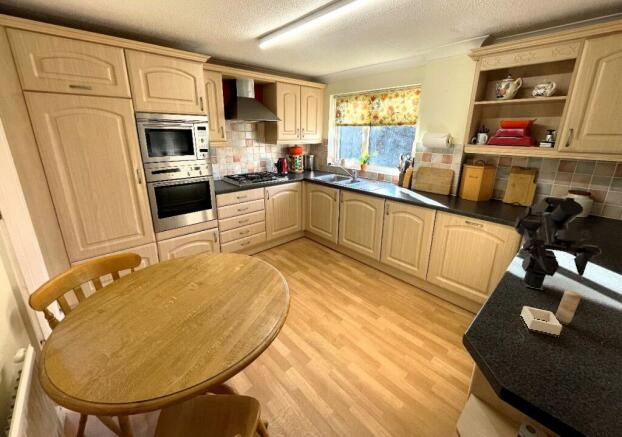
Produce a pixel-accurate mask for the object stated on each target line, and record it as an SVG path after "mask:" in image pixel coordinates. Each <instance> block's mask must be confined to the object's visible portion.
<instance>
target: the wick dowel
mask: <svg viewBox="0 0 622 437" xmlns="http://www.w3.org/2000/svg"><path fill="white" fill-rule="evenodd" d="M581 298H582V295H581V294H579V293H577V292H574V291H572V290H564V293H563V295H562V298H561V300H560V302H559V305H558V308H557V310H556V313H555V314H554V316H555V317H556V318H557V319H559V320H560V321H563V322H566V323H570V322H572V320H573V318H574V315H575V312H576V310H577V308H578V305H579V303H580V300H581ZM570 324H571V323H570Z"/></svg>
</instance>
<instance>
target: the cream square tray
mask: <svg viewBox="0 0 622 437" xmlns="http://www.w3.org/2000/svg"><path fill="white" fill-rule="evenodd" d="M520 316H522V317H523V319H524V321H525V323H526V324H527V326H528V328H529V329H533V330H538V331H543V332H547V333H551V334H556V335H559V336H560V333H561V331H562V328H563V325H562V324H560V323H559V321H558V320H557V319H556V317H555V314H554V313H553V312H552V311H549V310H545V309H539V308H535V307H531V306H526V305H523V307H522V310H521V314H520ZM534 318H535V319H534ZM537 319H540V320H537ZM542 320H545V321H542ZM546 321H547V322H546Z"/></svg>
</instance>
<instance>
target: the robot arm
mask: <svg viewBox="0 0 622 437" xmlns="http://www.w3.org/2000/svg"><path fill="white" fill-rule="evenodd" d="M583 211H584V207H583V206H582V205H581V204H580V202H578V201H576V200H575V198H574V197H568V196H567V197H565V198H562V197H551V196H544V198H542V199H541V200H540V203H538V204H535V205H534V204H533V205H532V206H531V205H530V206H527V208H526V209H525V211H524V212H522V213H520V214H518V216H517V218H516V219H515V222H514V229H515V231H516V233H517V234H518V235H520V236H521V237H522V236H523V239H524V240H523V241H524V242H523V244H522V250H523V251H524V252H527V253H528V256H526V258H525V259H524V258H523V260H522V262H521V267H522V269H523V270H524V272H525V274H524V276H523V279H524V280H523V282H525V283H526V284H528V285H530V286H531V287H535V288H541V287H542V286H543V285H544V281H545V279H546V276H549V277H553V276H554V275H555V274H556V272H558V269H559V267H560V265H559V261H558V259H557V256H556V254H555V252H554V251H556V252H565V253H571V254H573V256H574V257H573V261H574V264H575V265H574V266H575V268H576V272H577V274H578V276H579V277H583V276H584V273H585V270H586V267H587V265H588V263H589V261H590V260H591V259H593V258H596V257H597V256H601V254H602V250H601V248H600V247H599V246H598V245H593V244H585V243H584V244H582V245H580V246H573V245H575V244H577V242H579V243H580V242H583V241H587V240H590V234H591V233H590V231H589V229H583V228H582V229H577V230H573V229H570V228H569V225H568V224H569V223H571V222H573V220H575V219H576V218H577V217H579V215H580V214H582V213H583ZM530 216H531V217H538V220H531V219H526V218H528V217H530ZM542 216H545V217H544V218H543V219H542ZM543 224H544V228H545V233H544V234H543V237H544V238H546V240H545V239H543V238H541V237H540V235H539V232H540V230H541V228H542V227H543ZM546 242H547V243H546Z"/></svg>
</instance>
